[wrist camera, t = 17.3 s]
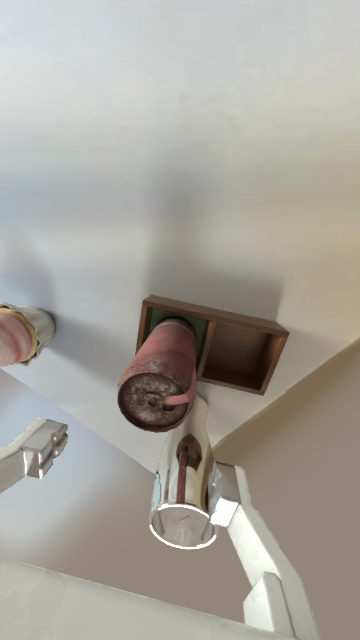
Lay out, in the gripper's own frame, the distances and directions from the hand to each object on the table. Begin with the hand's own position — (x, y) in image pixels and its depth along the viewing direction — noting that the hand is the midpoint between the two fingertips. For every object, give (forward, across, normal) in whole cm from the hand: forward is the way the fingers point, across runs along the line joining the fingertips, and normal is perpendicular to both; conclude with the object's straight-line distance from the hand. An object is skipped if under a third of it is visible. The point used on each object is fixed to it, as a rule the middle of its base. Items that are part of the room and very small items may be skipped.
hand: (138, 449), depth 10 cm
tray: (+18, -4, 0) cm, 19 cm away
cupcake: (+18, +22, +4) cm, 29 cm away
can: (+18, 0, 0) cm, 18 cm away
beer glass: (+18, -5, +13) cm, 23 cm away
